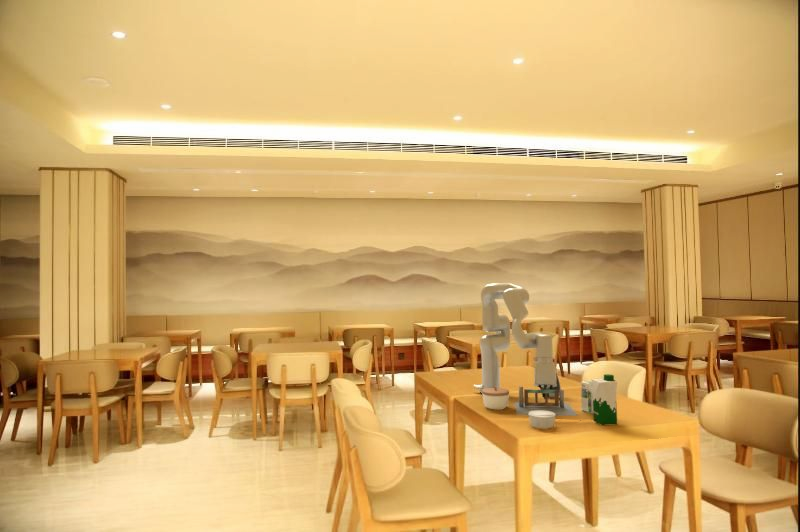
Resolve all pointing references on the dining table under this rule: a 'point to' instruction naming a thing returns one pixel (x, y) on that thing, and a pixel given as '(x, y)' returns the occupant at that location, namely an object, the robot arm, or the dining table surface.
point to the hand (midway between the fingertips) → (545, 398)
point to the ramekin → (542, 419)
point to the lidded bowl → (495, 398)
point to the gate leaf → (537, 397)
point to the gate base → (562, 410)
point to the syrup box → (587, 396)
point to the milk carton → (605, 400)
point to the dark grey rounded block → (554, 388)
